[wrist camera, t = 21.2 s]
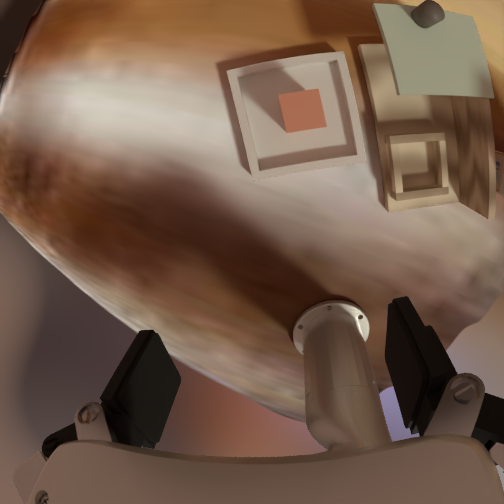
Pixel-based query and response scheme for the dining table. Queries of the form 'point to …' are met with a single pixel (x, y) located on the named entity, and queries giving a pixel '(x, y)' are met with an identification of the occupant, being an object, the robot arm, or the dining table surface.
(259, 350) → the dining table surface
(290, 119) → the block
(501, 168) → the cracker box
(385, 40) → the lid
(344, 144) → the tray
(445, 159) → the small wooden cabinet
